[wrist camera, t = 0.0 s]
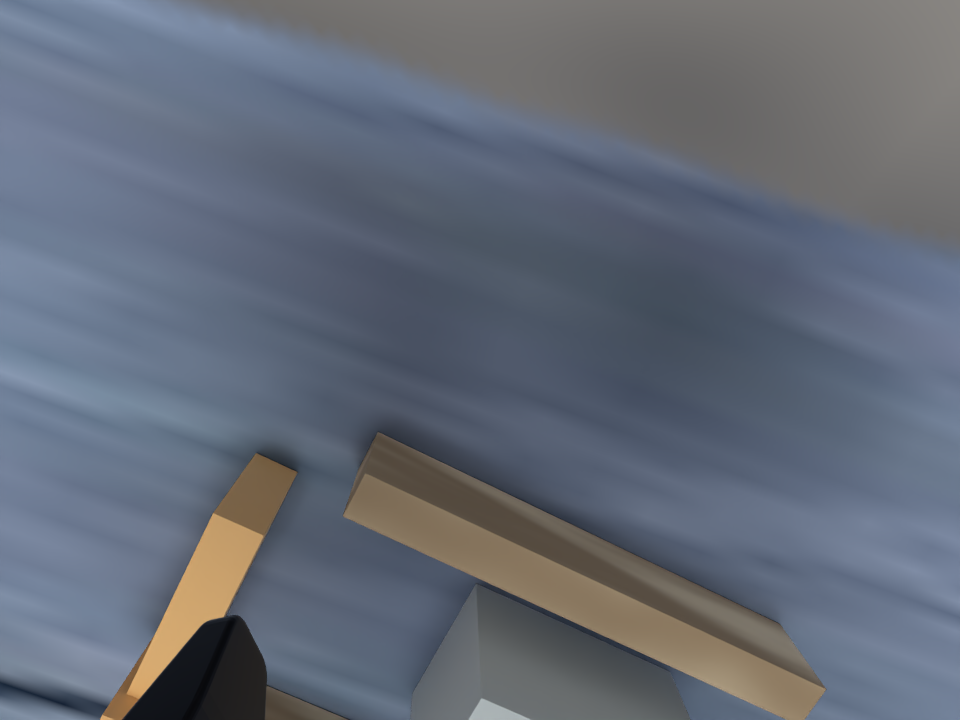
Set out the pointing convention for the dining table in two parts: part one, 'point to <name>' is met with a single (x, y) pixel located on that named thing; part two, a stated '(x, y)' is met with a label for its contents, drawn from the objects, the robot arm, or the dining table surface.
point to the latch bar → (211, 572)
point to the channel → (570, 581)
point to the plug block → (536, 671)
